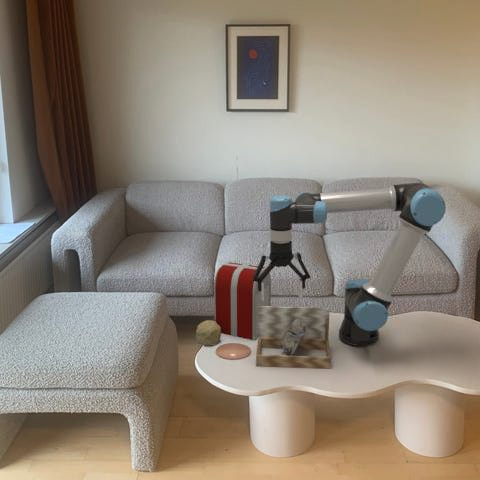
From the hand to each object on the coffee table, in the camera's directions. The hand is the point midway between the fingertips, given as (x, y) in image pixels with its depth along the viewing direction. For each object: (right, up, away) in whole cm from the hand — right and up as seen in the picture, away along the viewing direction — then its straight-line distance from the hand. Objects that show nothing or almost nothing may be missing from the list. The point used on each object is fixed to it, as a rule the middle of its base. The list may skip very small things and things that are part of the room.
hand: (281, 298), depth 234 cm
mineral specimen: (+5, -23, +5) cm, 24 cm away
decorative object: (-30, -19, +18) cm, 40 cm away
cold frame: (+5, -22, +5) cm, 23 cm away
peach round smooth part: (-17, -21, +9) cm, 28 cm away
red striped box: (-14, -16, +29) cm, 35 cm away
